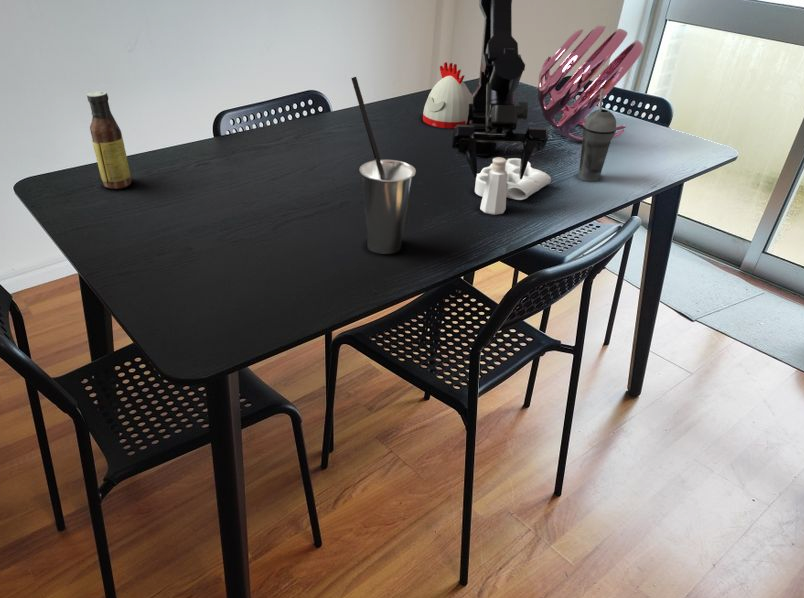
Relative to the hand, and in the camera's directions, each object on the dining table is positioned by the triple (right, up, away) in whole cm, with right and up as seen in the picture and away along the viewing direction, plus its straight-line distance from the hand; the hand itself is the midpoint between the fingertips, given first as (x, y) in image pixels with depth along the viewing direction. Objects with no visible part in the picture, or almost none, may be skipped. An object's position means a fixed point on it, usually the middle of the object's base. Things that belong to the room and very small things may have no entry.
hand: (498, 177), depth 144 cm
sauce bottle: (-82, +1, +13) cm, 83 cm away
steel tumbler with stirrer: (-24, -15, -8) cm, 30 cm away
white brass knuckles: (+6, +2, +16) cm, 17 cm away
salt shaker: (0, -5, +6) cm, 8 cm away
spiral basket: (+30, +23, +46) cm, 59 cm away
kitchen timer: (-3, +29, +53) cm, 60 cm away
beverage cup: (+25, +5, +21) cm, 33 cm away
